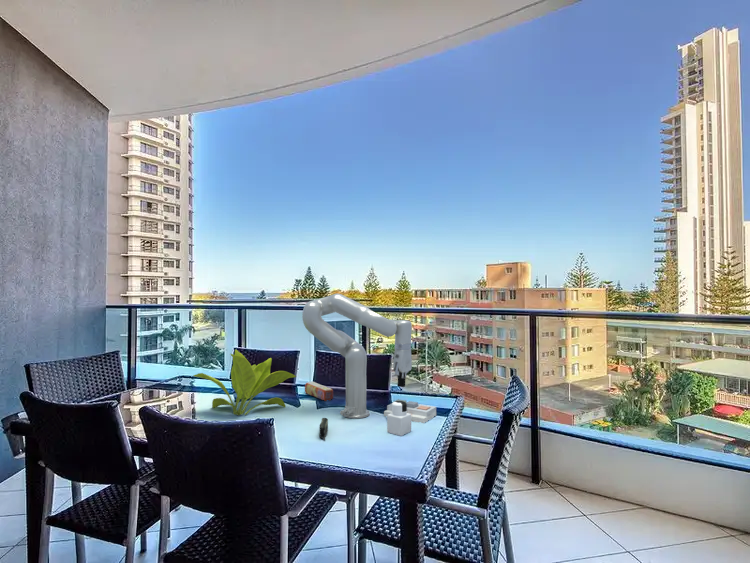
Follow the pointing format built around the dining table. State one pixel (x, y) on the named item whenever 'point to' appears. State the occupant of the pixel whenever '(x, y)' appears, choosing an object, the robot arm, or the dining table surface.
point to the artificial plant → (249, 383)
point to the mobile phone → (323, 428)
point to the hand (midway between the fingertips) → (401, 386)
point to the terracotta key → (423, 408)
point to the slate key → (412, 404)
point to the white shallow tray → (416, 413)
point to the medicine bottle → (399, 419)
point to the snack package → (319, 391)
